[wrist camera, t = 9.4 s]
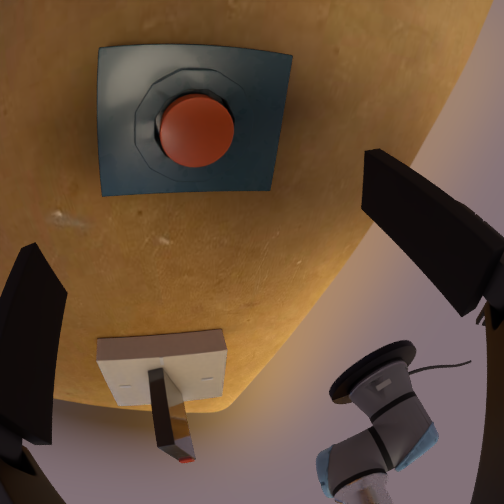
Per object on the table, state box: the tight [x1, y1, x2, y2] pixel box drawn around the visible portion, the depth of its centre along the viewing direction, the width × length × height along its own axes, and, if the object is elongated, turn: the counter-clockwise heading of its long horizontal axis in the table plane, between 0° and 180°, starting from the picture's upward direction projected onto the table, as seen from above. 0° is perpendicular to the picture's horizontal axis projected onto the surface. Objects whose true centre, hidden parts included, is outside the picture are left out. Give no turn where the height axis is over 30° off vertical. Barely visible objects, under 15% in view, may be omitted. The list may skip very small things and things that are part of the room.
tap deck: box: [96, 329, 227, 406], centre depth 33 cm, size 14×11×3 cm
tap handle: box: [148, 368, 196, 463], centre depth 29 cm, size 7×2×9 cm, turn 7°
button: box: [160, 94, 234, 167], centre depth 16 cm, size 4×4×2 cm
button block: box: [97, 44, 293, 197], centre depth 18 cm, size 12×10×4 cm
